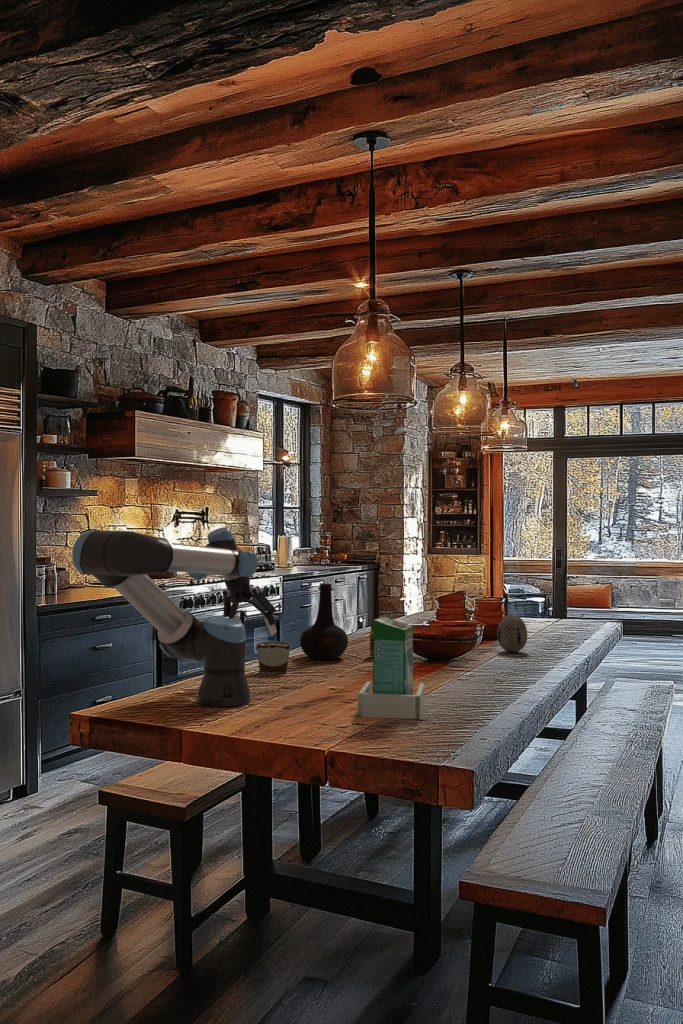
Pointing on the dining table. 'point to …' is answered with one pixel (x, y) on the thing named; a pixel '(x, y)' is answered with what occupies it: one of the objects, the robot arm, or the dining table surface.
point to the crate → (390, 704)
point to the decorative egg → (512, 633)
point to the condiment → (371, 641)
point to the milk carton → (392, 657)
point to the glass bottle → (324, 631)
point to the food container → (273, 656)
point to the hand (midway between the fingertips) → (257, 634)
